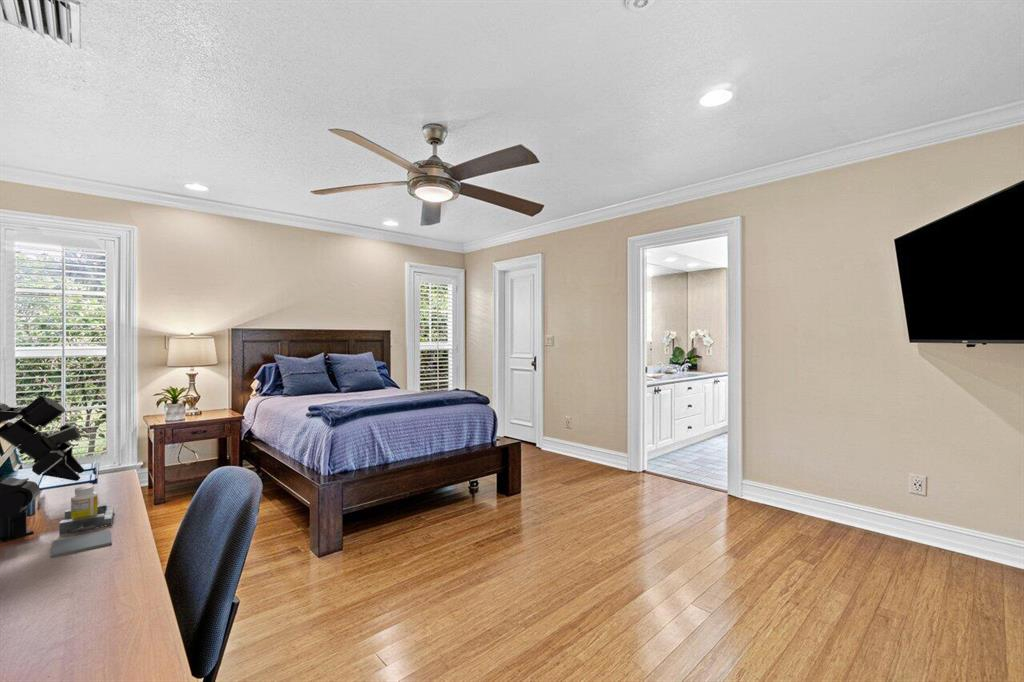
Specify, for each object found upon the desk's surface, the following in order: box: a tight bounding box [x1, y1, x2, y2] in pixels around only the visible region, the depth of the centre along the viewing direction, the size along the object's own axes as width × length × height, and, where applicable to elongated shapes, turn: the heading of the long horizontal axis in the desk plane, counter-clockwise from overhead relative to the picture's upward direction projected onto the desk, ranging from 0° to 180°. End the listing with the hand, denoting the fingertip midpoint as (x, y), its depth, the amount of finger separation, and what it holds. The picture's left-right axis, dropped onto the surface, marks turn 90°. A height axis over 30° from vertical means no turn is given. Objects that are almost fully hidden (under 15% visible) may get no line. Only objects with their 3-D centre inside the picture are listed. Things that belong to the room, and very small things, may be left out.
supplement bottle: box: [70, 484, 98, 519], centre depth 135 cm, size 6×6×10 cm
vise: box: [58, 502, 115, 535], centre depth 134 cm, size 17×11×3 cm, turn 37°
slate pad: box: [50, 529, 112, 558], centre depth 122 cm, size 11×11×1 cm
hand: (80, 475), depth 134 cm, fingers open, 9 cm apart
